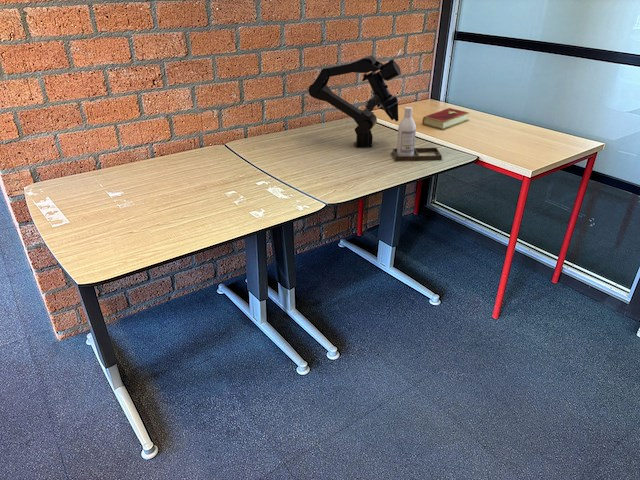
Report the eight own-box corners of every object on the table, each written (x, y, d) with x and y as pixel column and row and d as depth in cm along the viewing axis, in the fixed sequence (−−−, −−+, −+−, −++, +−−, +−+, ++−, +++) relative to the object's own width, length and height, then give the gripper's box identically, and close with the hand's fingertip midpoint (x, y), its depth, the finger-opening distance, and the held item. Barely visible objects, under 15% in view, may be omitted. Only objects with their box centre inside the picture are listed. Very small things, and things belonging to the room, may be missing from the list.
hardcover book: (422, 124, 237) (423, 115, 235) (448, 115, 249) (448, 107, 247) (442, 130, 229) (443, 121, 227) (468, 120, 241) (469, 111, 239)
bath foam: (416, 156, 200) (421, 108, 190) (403, 160, 197) (406, 111, 187) (407, 151, 205) (410, 104, 195) (393, 154, 203) (396, 106, 192)
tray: (395, 161, 197) (396, 156, 196) (392, 152, 205) (392, 148, 204) (441, 159, 197) (441, 155, 196) (436, 151, 205) (436, 147, 205)
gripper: (358, 95, 209) (374, 128, 213) (364, 96, 191) (381, 131, 195) (381, 82, 208) (397, 115, 212) (389, 82, 190) (406, 118, 194)
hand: (395, 120), depth 203 cm, fingers open, 9 cm apart
